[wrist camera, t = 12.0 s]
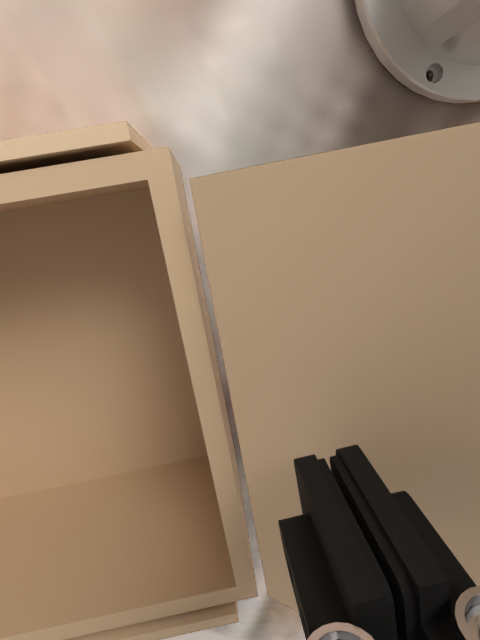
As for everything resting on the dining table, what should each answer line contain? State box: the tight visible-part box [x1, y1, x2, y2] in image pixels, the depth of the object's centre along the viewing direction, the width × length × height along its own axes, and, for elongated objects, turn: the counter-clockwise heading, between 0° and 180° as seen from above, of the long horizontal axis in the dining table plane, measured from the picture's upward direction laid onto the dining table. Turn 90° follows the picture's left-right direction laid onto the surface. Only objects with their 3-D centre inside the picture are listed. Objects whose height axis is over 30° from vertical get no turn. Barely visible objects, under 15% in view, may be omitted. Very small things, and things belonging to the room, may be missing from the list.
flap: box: [190, 122, 480, 612], centre depth 12 cm, size 1×16×8 cm
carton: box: [0, 121, 258, 640], centre depth 19 cm, size 16×20×10 cm
